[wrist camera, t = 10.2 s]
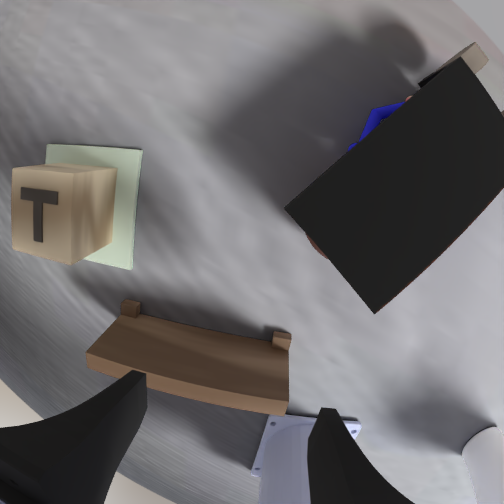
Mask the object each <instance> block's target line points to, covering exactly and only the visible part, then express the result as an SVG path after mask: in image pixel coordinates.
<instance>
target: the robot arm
mask: <svg viewBox="0 0 504 504" xmlns="http://www.w3.org/2000/svg"><path fill="white" fill-rule="evenodd" d="M146 410H147V382H146V373H143V372H139V371H136V370H131V371H130V372H128V373H127V374H126V375H124V376H123V377H122V378H120V379H119V380H117V381H116V382H115V383H113V384H112V385H110V386H109V387H108V388H106V389H105V390H103V391H102V392H100V393H99V394H97V395H95V396H94V397H92V398H90V399H89V400H87V401H85V402H84V403H82V404H80V405H78V406H76V407H74V408H72V409H70V410H68V411H66V412H64V413H61V414H59V415H56V416H53V417H50V418H47V419H44V420H41V421H38V422H34V423H30V424H25V425H20V426H13V427H5V428H0V504H104V501H105V499H106V495H107V492H108V490H109V487H110V484H111V482H112V479H113V477H114V474H115V472H116V470H117V468H118V466H119V464H120V462H121V460H122V458H123V456H124V455H125V453H126V451H127V449H128V447H129V446H130V444H131V442H132V440H133V438H134V437H135V435H136V433H137V431H138V429H139V427H140V425H141V423H142V420H143V418H144V415H145V412H146ZM272 422H275V423H272ZM361 427H362V426H361V423H360V422H358V421H344V420H342V419H341V417H340V415H339V413H338V412H337V410H336V409H332V408H322V407H321V410H320V412H319V415H318V417H317V418H311V417H302V416H293V415H286V414H285V415H284V416H278V415H271V414H270V415H269V416H268V420H267V423H266V426H265V429H264V433H263V436H262V439H261V442H260V445H259V448H258V451H257V455H256V458H255V461H254V464H253V467H252V470H251V475H253V476H256V477H261V481H260V491H259V501H258V504H415V503H413V502H412V501H410V500H409V499H407V498H406V497H405V496H403V495H402V494H401V493H400V492H399V491H397V490H396V489H395V488H394V487H393V486H392V485H391V484H389V483H388V482H387V481H386V480H385V479H384V478H383V477H382V475H381V474H380V473H379V472H378V471H377V470H376V469H375V468H374V467H373V465H372V464H371V463H370V462H369V460H368V459H367V458H366V456H365V455H364V454H363V452H362V451H361V449H360V448H359V446H358V445H357V443H356V442H355V438H356V436H357V435H358V433H359V431H360V429H361ZM352 430H353V431H352Z"/></svg>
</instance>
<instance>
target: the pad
mask: <svg viewBox="0 0 504 504" xmlns="http://www.w3.org/2000/svg"><path fill="white" fill-rule="evenodd" d="M142 153H143V150H135V149H124V148H111V147H98V146H82V145H62V144H47V149H46V160H45V164H52V163H69V164H80V165H91V166H102V167H111V168H118V169H117V179H116V189H115V201H114V216H113V234H112V243H110V244H108V245H106V246H105V247H103V248H101V249H99V250H97V251H96V252H94V253H92V254H90V255H89V256H87V257H85V258H83V259H85V260H89V261H93V262H97V263H102V264H106V265H110V266H114V267H119V268H123V269H127V270H131V269H132V268H133V248H134V232H135V219H136V207H137V196H138V187H139V178H140V169H141V161H142Z"/></svg>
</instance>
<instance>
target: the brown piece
mask: <svg viewBox="0 0 504 504" xmlns="http://www.w3.org/2000/svg"><path fill="white" fill-rule="evenodd" d="M290 343H291V334H289V333H283V332H277V331H274V333H273V337H272V341H271V342H270V341H264V340H258V339H253V338H248V337H242V336H237V335H232V334H227V333H222V332H217V331H213V330H208V329H203V328H199V327H194V326H190V325H185V324H181V323H177V322H172V321H168V320H164V319H160V318H156V317H152V316H148V315H144V314H140V302H136V301H132V300H128V299H125V300H124V301H123V302H122V303H121V315H120V316H119V317H118V318H117V319H116V320H115V321H114V322H113V323H112V324H111V326H110V327H109V328H108V329H107V330H106V331H105V332H104V333H103V334H102V335H101V336H100V337H99V338H98V339H97V340H96V342H95V343H94V344H93V345H92V346H91V347H90V348H89V349H88V350H87V351H86V360H87V367H88V368H90V369H92V370H95V371H98V372H101V373H104V374H107V375H110V376H113V377H116V378H119V379H120V378H122V377H123V376H124V375H126V374H127V373H128V372H130V371H131V370H136V371H139V372H143V373H146V382H147V387H148V388H151V389H155V390H158V391H162V392H166V393H170V394H173V395H177V396H181V397H185V398H189V399H194V400H198V401H202V402H207V403H211V404H216V405H221V406H226V407H231V408H236V409H241V410H247V411H253V412H259V413H265V414H271V415H278V416H284V415H285V412H286V409H287V406H288V403H289V354H288V351H289V347H290Z"/></svg>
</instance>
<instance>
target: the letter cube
mask: <svg viewBox="0 0 504 504" xmlns="http://www.w3.org/2000/svg"><path fill="white" fill-rule="evenodd" d="M117 169H118V168H111V167H102V166H91V165H80V164H69V163H52V164H43V165H33V166H25V167H17V168H12V193H11V220H12V245H13V249H14V250H17V251H21V252H24V253H28V254H31V255H35V256H38V257H42V258H45V259H49V260H53V261H56V262H60V263H64V264H68V265H73V264H75V263H76V262H78V261H80V260H82V259H83V258H85V257H87V256H89V255H90V254H92V253H94V252H96V251H97V250H99V249H101V248H103V247H105V246H106V245H108V244H110V243H112V234H113V216H114V201H115V189H116V179H117Z"/></svg>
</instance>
